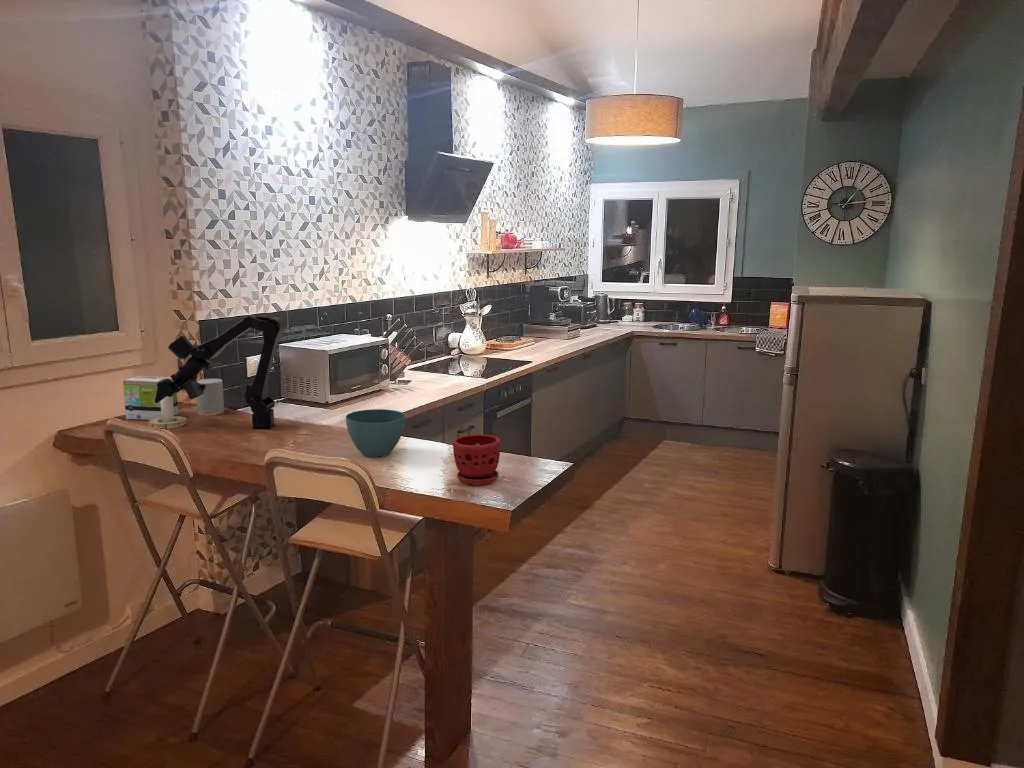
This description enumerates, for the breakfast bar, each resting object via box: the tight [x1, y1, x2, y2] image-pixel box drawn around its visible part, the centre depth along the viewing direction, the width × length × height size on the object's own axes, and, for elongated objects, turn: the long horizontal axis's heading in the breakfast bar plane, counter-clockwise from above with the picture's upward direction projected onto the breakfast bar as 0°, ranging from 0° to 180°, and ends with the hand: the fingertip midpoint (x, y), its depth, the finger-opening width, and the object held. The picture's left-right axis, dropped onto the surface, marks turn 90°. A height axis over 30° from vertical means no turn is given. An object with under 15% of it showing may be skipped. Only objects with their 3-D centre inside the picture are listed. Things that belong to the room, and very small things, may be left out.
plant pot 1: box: [345, 408, 406, 458], centre depth 229 cm, size 18×18×12 cm
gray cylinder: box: [195, 378, 225, 414], centre depth 278 cm, size 10×10×12 cm
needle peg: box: [161, 396, 174, 423], centre depth 260 cm, size 4×4×14 cm
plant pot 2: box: [452, 434, 501, 486], centre depth 206 cm, size 13×13×12 cm
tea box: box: [122, 375, 179, 421], centre depth 270 cm, size 15×10×15 cm, turn 88°
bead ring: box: [147, 415, 188, 430], centre depth 261 cm, size 12×12×2 cm
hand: (162, 399), depth 259 cm, fingers open, 9 cm apart
